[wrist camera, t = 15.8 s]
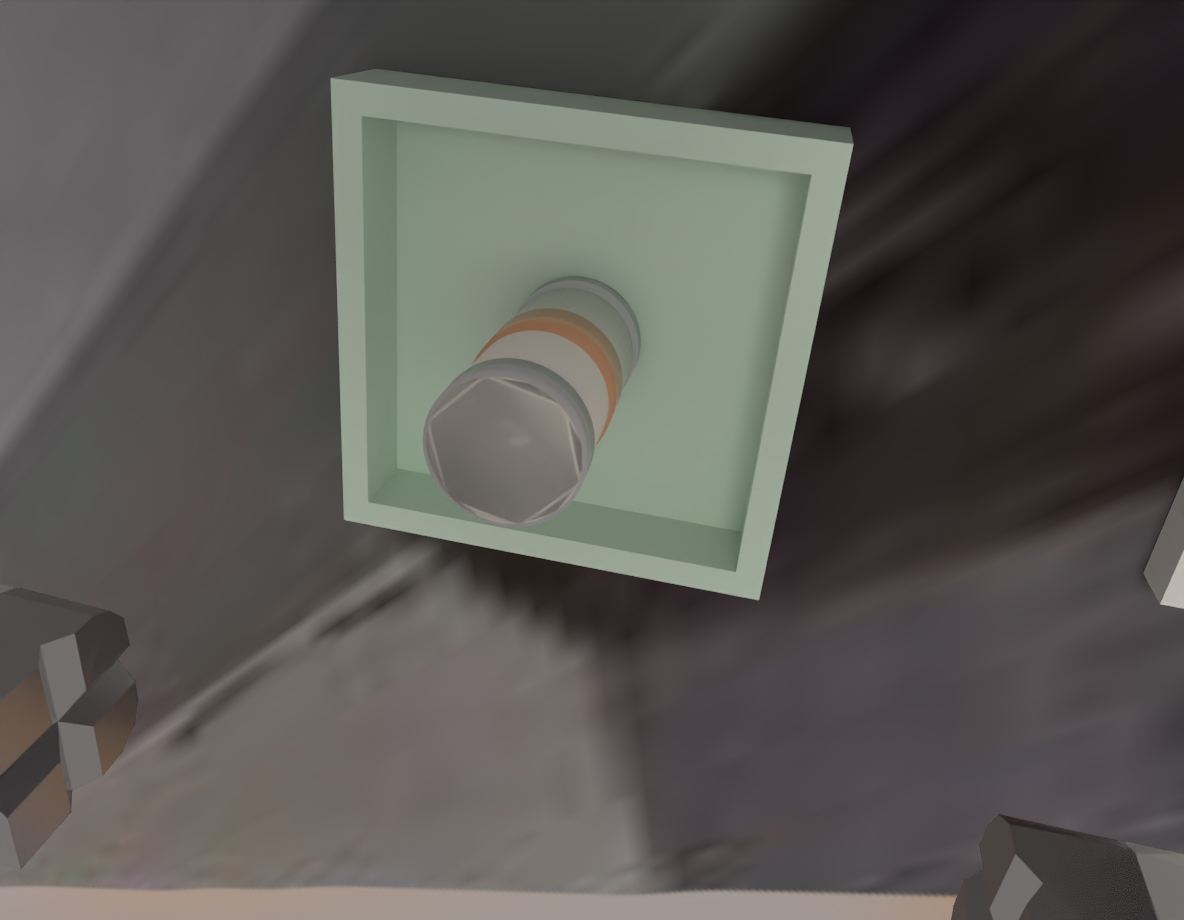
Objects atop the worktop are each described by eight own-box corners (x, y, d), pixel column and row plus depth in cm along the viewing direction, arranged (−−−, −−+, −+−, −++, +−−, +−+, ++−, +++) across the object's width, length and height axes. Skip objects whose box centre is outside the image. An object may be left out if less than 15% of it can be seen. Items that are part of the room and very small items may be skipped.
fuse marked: (519, 268, 35) (423, 361, 26) (647, 285, 34) (593, 386, 25) (513, 388, 37) (422, 512, 28) (634, 405, 36) (579, 539, 27)
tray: (375, 68, 33) (330, 78, 30) (850, 127, 31) (853, 144, 28) (379, 478, 41) (344, 519, 38) (763, 550, 38) (758, 600, 35)
